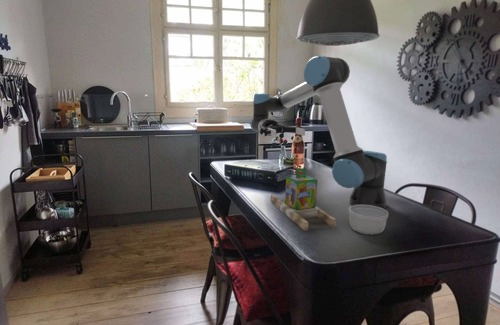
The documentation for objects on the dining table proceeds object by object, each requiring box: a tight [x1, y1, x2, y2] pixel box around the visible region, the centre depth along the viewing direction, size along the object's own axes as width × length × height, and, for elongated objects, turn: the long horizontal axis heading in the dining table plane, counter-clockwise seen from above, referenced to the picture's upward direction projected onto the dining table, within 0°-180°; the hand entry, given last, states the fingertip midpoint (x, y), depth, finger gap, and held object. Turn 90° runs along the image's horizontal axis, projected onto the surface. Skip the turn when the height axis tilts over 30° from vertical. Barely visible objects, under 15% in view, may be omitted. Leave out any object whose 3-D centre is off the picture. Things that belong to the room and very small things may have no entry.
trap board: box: [270, 194, 337, 232], centre depth 137 cm, size 33×12×3 cm, turn 18°
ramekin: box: [348, 205, 389, 236], centre depth 122 cm, size 13×13×7 cm
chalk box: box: [284, 167, 318, 210], centre depth 135 cm, size 9×9×15 cm
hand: (289, 132), depth 144 cm, fingers open, 13 cm apart
